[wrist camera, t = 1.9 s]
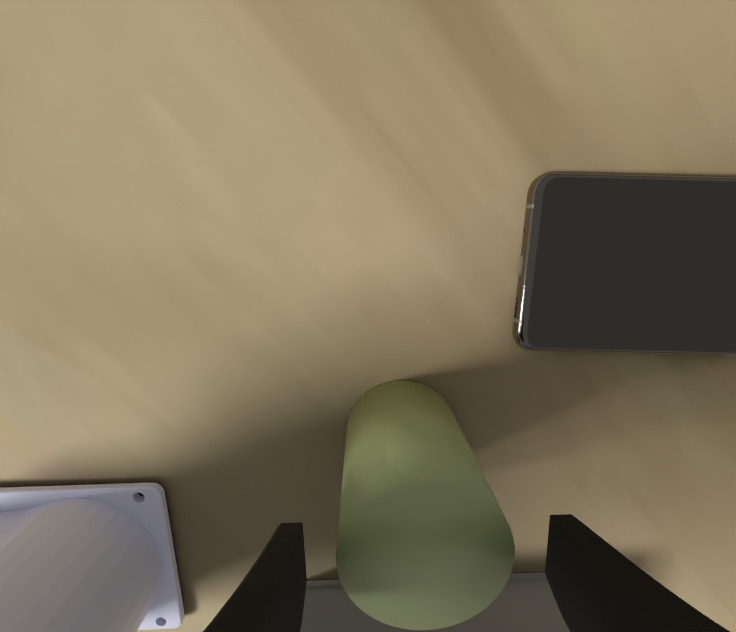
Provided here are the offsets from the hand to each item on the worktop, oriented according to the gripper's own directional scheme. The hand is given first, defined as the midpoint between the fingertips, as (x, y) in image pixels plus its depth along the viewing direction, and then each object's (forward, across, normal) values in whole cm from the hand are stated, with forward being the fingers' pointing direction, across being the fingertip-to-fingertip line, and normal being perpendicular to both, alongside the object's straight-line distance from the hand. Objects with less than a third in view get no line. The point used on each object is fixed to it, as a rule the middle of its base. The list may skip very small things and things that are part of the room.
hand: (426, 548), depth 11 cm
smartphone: (+7, -13, -7) cm, 16 cm away
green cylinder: (+7, 0, 0) cm, 7 cm away
